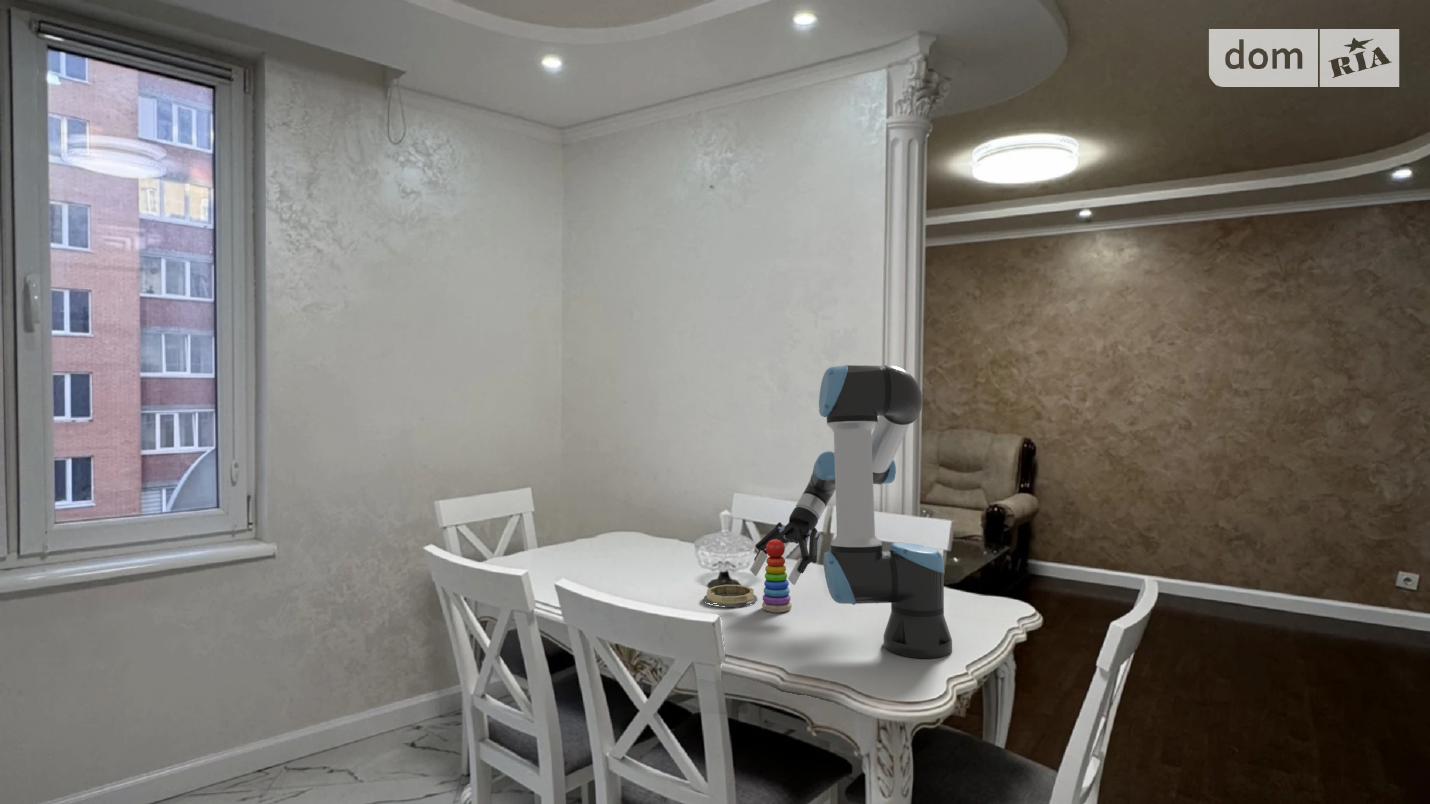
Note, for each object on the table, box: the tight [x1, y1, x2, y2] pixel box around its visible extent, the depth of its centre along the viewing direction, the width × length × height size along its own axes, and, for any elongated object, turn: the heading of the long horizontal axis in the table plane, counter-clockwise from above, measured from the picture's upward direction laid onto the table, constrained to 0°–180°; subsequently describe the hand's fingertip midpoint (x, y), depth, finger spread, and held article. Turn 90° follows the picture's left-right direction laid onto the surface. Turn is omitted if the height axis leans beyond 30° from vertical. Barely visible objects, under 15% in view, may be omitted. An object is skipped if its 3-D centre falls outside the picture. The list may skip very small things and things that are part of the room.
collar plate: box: [703, 584, 758, 608], centre depth 213 cm, size 15×15×3 cm
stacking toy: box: [761, 539, 793, 613], centre depth 203 cm, size 8×8×19 cm
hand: (771, 577), depth 202 cm, fingers open, 13 cm apart
